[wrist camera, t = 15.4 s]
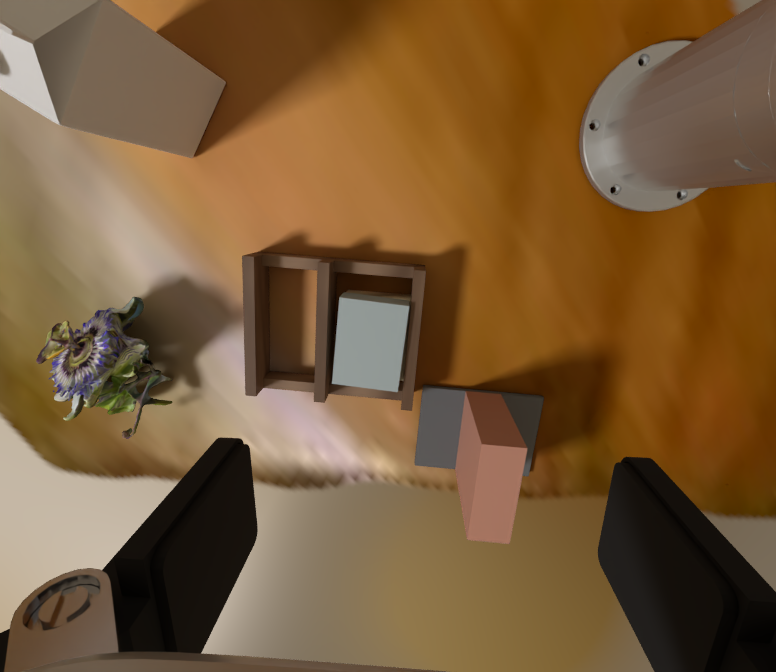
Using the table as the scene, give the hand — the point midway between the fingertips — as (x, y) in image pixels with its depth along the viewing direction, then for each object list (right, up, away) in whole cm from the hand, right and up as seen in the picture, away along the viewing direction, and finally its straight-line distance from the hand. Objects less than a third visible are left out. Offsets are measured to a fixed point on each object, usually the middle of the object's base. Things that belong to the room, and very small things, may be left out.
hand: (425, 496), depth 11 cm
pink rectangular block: (+8, -6, +32) cm, 34 cm away
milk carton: (-19, +25, +26) cm, 41 cm away
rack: (-6, +5, +30) cm, 31 cm away
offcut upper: (-2, +4, +28) cm, 29 cm away
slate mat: (+8, -6, +33) cm, 34 cm away
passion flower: (-26, +2, +33) cm, 42 cm away
